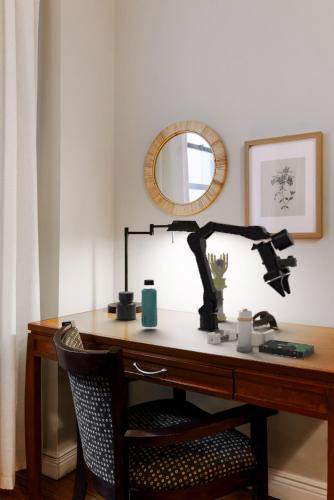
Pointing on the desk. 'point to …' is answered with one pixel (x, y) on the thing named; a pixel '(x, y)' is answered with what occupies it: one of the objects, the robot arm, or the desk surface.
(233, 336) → the cable clips
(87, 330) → the desk surface
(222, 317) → the trophy
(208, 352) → the desk surface
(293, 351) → the disk drive
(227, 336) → the cable
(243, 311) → the white squeeze bottle
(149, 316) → the beverage bottle
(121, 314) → the ink bottle
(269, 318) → the dark brown curved piece
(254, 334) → the end holder
